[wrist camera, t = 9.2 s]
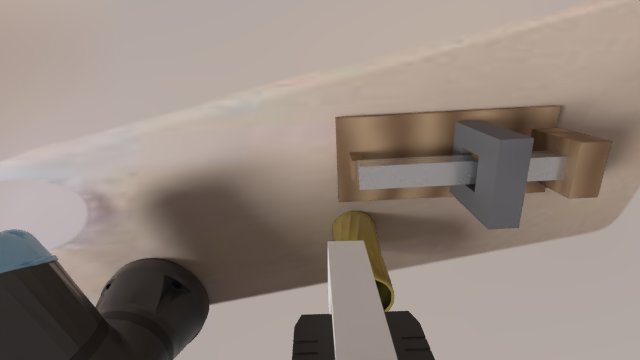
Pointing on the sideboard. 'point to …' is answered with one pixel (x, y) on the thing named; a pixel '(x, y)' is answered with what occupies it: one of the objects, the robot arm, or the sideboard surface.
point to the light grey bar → (447, 170)
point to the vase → (363, 229)
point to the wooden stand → (438, 140)
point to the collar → (493, 172)
